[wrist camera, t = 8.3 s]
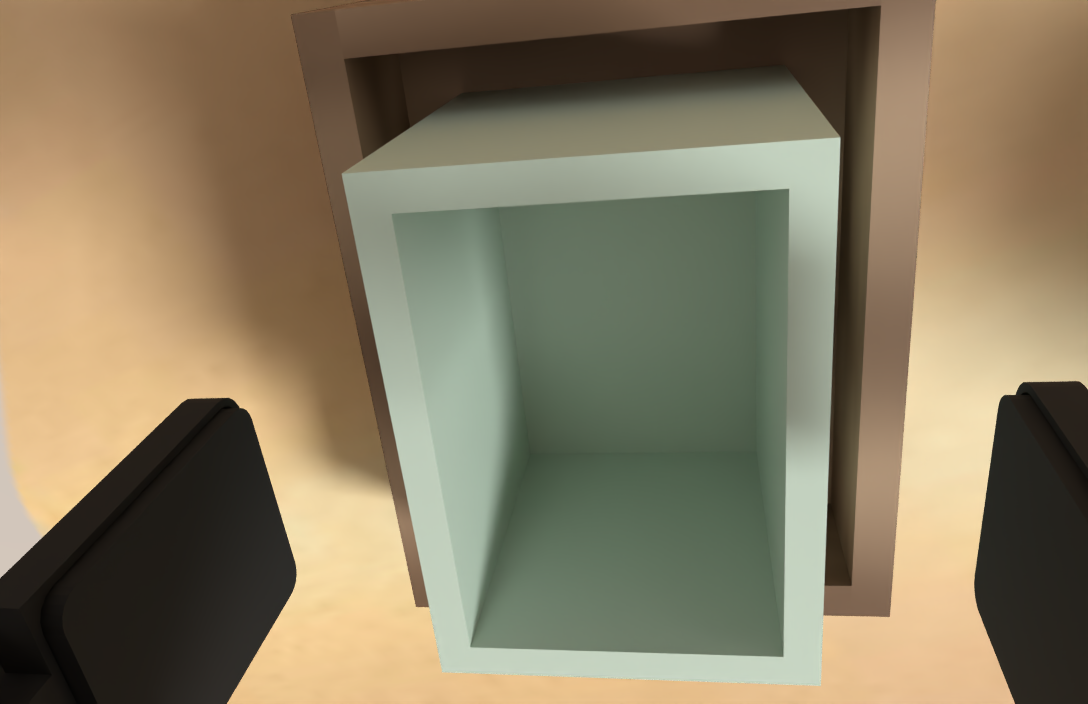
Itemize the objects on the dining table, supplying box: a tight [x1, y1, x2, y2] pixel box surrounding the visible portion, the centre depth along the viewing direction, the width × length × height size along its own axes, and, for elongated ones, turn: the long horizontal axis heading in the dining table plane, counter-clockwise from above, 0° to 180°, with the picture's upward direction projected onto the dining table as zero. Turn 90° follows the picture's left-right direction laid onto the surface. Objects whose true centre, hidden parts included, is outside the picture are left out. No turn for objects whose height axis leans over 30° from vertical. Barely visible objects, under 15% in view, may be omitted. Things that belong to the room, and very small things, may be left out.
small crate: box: [342, 65, 841, 686], centre depth 16 cm, size 9×6×7 cm
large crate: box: [291, 0, 936, 617], centre depth 18 cm, size 13×10×4 cm
